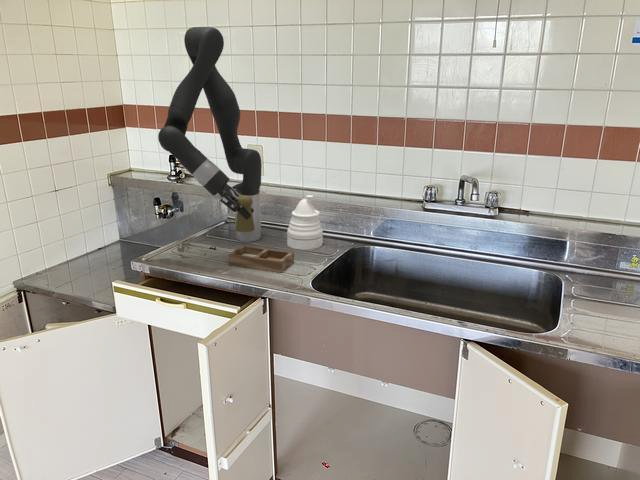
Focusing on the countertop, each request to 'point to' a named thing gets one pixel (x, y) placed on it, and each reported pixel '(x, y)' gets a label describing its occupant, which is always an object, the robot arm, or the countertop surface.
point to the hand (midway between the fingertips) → (250, 215)
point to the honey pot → (305, 227)
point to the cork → (241, 222)
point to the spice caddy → (261, 258)
